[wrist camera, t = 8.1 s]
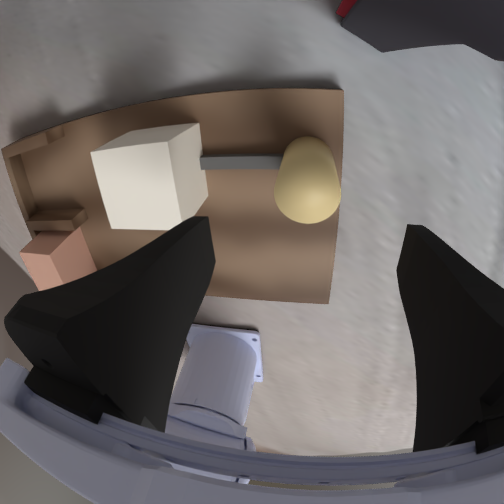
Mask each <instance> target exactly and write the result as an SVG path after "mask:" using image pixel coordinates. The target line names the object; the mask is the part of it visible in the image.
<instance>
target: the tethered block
mask: <svg viewBox="0 0 504 504" xmlns="http://www.w3.org/2000/svg"><path fill="white" fill-rule="evenodd" d="M90 153H91V157H92V162H93V166H94V170H95V174H96V177H97V181H98V185H99V189H100V192H101V196H102V199H103V203H104V206H105V209H106V213H107V216H108V219H109V222H110V225H111V228H112V229H138V230H170V229H172V228H173V227H175V226H176V225H178V224H180V223H181V222H183V221H185V220H186V219H188V218H190V217H192V216H194V215H195V214H196V212H197V211H198V210H199V208H200V207H201V205H202V204H203V203H204V201H205V200H206V198H207V197H208V189H207V182H206V174H205V170H217V169H277V170H279V173H278V176H277V180H276V183H275V187H274V198H275V202H276V204H277V206H278V208H279V209H280V211H281V212H282V213H283V214H284V215H285V216H287V217H288V218H290V219H291V220H293V221H296V222H299V223H305V224H312V223H318V222H321V221H323V220H325V219H327V218H328V217H330V216H331V215H332V214H333V213H334V212H335V211H336V209H337V208H338V205H339V203H340V199H341V189H340V184H339V179H338V175H337V171H336V166H335V162H334V158H333V154H332V152H331V149H330V148H329V146H328V145H327V144H326V143H325V142H323V141H322V140H320V139H318V138H315V137H310V136H305V137H300V138H297V139H295V140H294V141H292V142H291V143H290V144H289V145H288V146H287V148H286V150H285V152H284V154H212V155H203V151H202V143H201V134H200V126H199V123H189V124H180V125H171V126H162V127H155V128H147V129H141V130H134V131H130V132H128V133H126V134H124V135H122V136H120V137H118V138H116V139H114V140H112V141H110V142H108V143H106V144H104V145H102V146H101V147H99V148H97V149H95V150H93V151H92V152H90Z"/></svg>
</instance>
